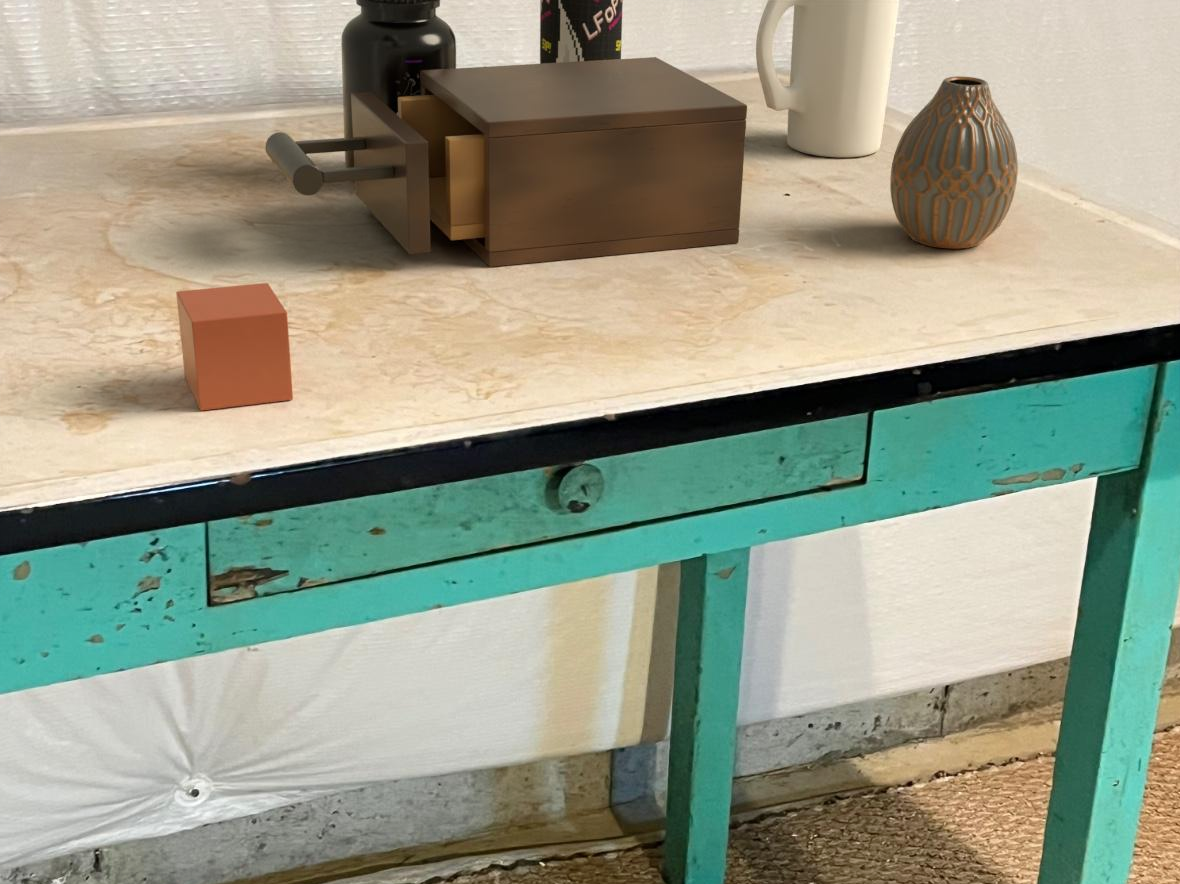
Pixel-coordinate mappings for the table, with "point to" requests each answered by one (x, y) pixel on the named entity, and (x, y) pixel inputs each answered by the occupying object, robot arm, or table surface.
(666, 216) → the cabinet
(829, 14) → the mug
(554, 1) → the beverage can
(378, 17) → the supplement bottle
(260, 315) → the block
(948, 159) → the vase
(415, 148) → the drawer
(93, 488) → the table surface
